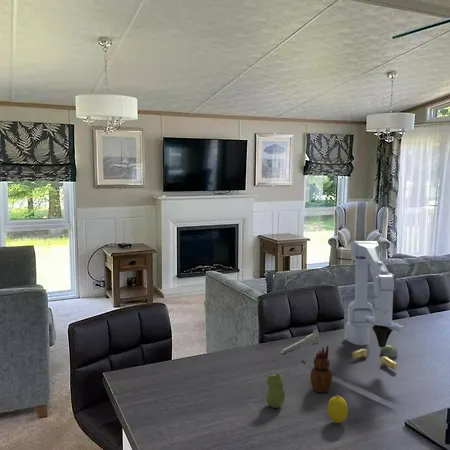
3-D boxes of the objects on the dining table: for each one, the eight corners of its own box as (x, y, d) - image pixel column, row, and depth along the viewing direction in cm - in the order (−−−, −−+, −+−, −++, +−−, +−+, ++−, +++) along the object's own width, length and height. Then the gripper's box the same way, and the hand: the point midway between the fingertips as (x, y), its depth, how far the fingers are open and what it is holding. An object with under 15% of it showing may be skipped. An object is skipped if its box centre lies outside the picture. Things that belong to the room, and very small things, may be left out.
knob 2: (392, 372, 154) (392, 363, 154) (379, 364, 161) (379, 355, 161) (397, 371, 155) (398, 363, 155) (385, 363, 162) (385, 355, 162)
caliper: (317, 343, 187) (317, 328, 186) (319, 343, 186) (319, 329, 185) (280, 353, 175) (280, 338, 175) (281, 354, 174) (282, 338, 174)
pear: (274, 413, 130) (275, 379, 129) (262, 405, 134) (262, 373, 133) (288, 407, 134) (288, 374, 133) (275, 400, 138) (275, 368, 137)
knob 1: (350, 360, 165) (350, 351, 165) (362, 355, 169) (363, 347, 169) (355, 362, 163) (356, 353, 163) (368, 357, 167) (368, 349, 167)
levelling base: (348, 361, 167) (348, 349, 167) (380, 349, 179) (381, 338, 179) (380, 374, 156) (381, 362, 156) (412, 361, 168) (413, 349, 167)
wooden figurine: (332, 388, 146) (333, 343, 144) (330, 396, 140) (332, 350, 139) (311, 385, 148) (312, 341, 147) (309, 392, 143) (310, 347, 141)
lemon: (324, 418, 127) (325, 391, 127) (343, 417, 128) (344, 390, 127) (330, 429, 122) (331, 401, 121) (350, 428, 122) (351, 400, 122)
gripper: (359, 305, 158) (357, 342, 160) (395, 315, 147) (393, 355, 148) (371, 302, 162) (370, 338, 164) (407, 312, 151) (405, 350, 152)
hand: (382, 346), depth 156 cm, fingers closed
